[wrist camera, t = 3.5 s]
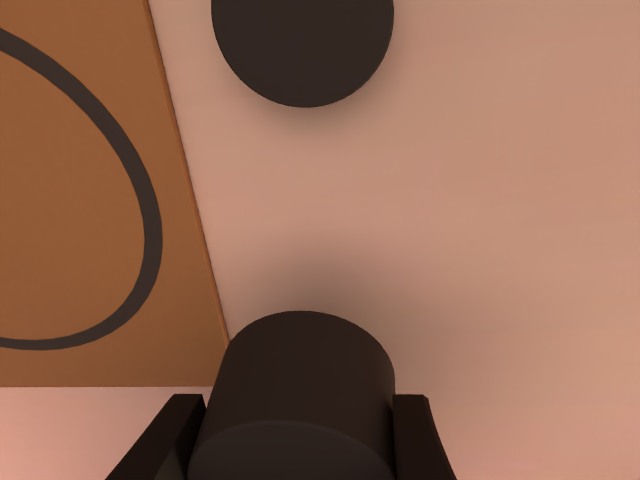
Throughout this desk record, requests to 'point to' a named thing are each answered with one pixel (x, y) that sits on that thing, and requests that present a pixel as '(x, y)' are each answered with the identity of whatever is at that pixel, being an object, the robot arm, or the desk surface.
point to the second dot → (303, 46)
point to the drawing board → (97, 207)
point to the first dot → (299, 404)
